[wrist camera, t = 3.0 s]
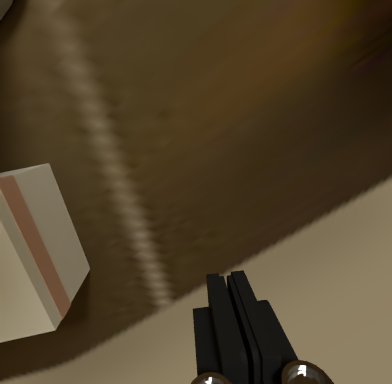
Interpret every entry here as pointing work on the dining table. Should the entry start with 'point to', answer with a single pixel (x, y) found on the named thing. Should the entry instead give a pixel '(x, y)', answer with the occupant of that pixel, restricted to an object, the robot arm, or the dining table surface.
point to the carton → (36, 254)
